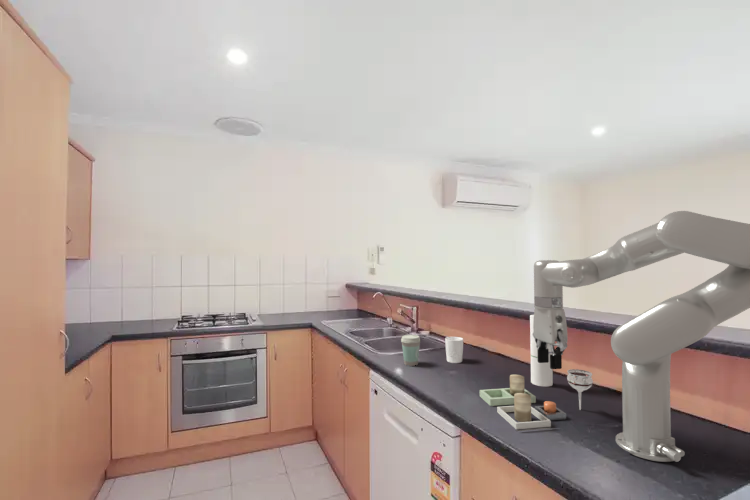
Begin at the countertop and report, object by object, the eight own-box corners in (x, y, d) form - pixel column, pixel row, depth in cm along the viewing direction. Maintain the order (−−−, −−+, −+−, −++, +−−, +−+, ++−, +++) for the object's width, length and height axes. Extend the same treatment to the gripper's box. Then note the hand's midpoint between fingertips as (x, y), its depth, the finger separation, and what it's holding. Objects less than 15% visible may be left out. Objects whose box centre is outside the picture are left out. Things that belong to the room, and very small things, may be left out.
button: (558, 414, 107) (558, 405, 107) (548, 415, 107) (548, 405, 107) (551, 409, 110) (551, 400, 110) (541, 410, 110) (541, 401, 110)
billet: (534, 423, 104) (534, 398, 104) (519, 424, 104) (519, 399, 104) (525, 416, 109) (525, 392, 109) (511, 417, 108) (511, 393, 108)
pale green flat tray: (535, 405, 117) (535, 396, 117) (490, 409, 115) (490, 399, 115) (522, 396, 125) (522, 387, 125) (479, 399, 123) (479, 390, 123)
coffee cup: (418, 367, 158) (418, 339, 158) (399, 366, 160) (398, 338, 160) (422, 362, 166) (422, 334, 166) (403, 360, 168) (403, 333, 168)
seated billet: (527, 400, 119) (526, 378, 119) (514, 401, 118) (513, 379, 118) (520, 395, 123) (519, 374, 123) (507, 396, 123) (507, 374, 123)
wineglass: (594, 411, 113) (593, 371, 113) (592, 419, 107) (591, 377, 107) (568, 406, 117) (568, 367, 117) (566, 414, 111) (565, 373, 111)
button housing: (566, 422, 106) (566, 413, 106) (546, 423, 105) (546, 415, 105) (553, 413, 112) (553, 405, 112) (534, 414, 111) (534, 406, 111)
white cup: (441, 359, 169) (441, 337, 169) (456, 357, 172) (455, 335, 172) (452, 364, 162) (452, 341, 162) (467, 362, 165) (466, 339, 165)
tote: (550, 430, 101) (550, 420, 101) (516, 432, 100) (516, 423, 100) (528, 412, 112) (528, 404, 112) (497, 415, 111) (497, 406, 111)
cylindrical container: (555, 389, 131) (553, 318, 131) (533, 388, 132) (532, 317, 132) (549, 382, 138) (548, 314, 138) (529, 381, 139) (528, 314, 139)
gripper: (580, 306, 101) (581, 374, 100) (543, 298, 118) (544, 356, 117) (554, 307, 100) (555, 375, 99) (520, 299, 117) (521, 358, 116)
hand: (549, 364), depth 108 cm, fingers open, 5 cm apart
